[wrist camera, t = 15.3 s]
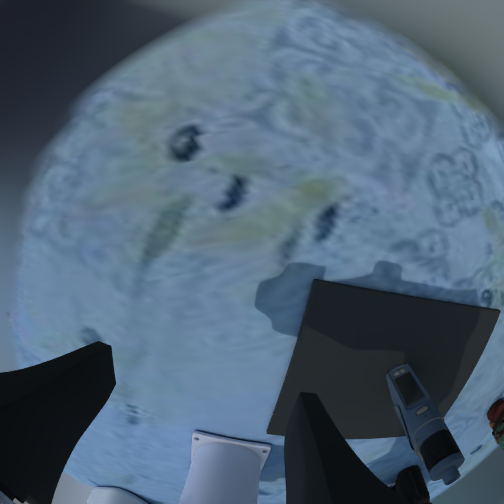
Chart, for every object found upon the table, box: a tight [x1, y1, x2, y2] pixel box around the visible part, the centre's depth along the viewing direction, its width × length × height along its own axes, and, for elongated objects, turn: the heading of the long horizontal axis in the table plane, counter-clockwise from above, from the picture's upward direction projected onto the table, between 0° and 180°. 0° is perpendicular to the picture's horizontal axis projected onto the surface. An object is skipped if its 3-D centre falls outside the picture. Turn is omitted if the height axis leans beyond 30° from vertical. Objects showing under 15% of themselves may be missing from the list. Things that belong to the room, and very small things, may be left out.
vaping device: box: [386, 363, 465, 485], centre depth 14 cm, size 3×5×12 cm, turn 26°
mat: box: [267, 279, 501, 439], centre depth 20 cm, size 16×20×1 cm
